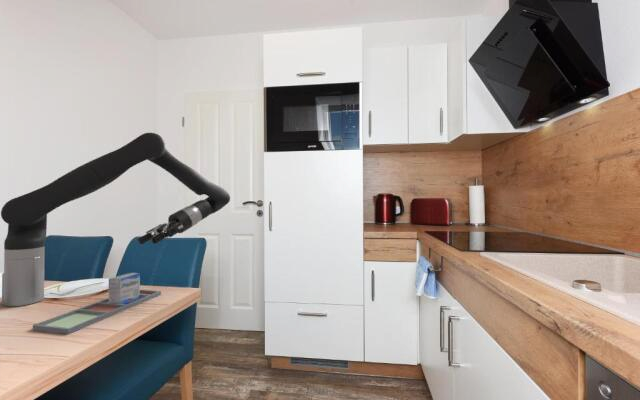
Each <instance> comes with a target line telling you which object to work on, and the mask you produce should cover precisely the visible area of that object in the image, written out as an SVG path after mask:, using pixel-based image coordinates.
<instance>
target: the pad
mask: <svg viewBox="0 0 640 400" xmlns="http://www.w3.org/2000/svg"><path fill="white" fill-rule="evenodd" d="M97 316H100V315H94V314H84V313H76V314H73V315H71V316H68V317H65V318H63V319H60V320H57V321H54V322H52V323H49V324H46V325H47V326H56V327H64V328H70V327H73V326H75V325H78V324H80V323H82V322H85V321H87V320H90V319H92V318H95V317H97Z"/></svg>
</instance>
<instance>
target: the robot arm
mask: <svg viewBox="0 0 640 400" xmlns="http://www.w3.org/2000/svg"><path fill="white" fill-rule="evenodd" d="M145 161H149V162H150V163H152V164H154V165H156V166H158V167H160V168H162V169H163V170H164V171H166V172H168V174H170V175H171V176H173V177H174V178H176V179H177V180H178V181H179V182H180V183H181V184H183V185H184V186H186V187H187V188H188V189H189V190H191V192H193V193H194V194H196V195H198V196H203V195H205V196H206V198H205V199H200V200H198V201H196V202H194V203H192V204H190V205H187V206H185V207H183V208H181V209H179V210H177V211H175V212H174V213H171V214H170V215H169V216H168V220H167V221H168V222H163V223H162V224H159V225H156V226H155V227H153V228H151V229H149V230H147V231H146V232H145V234H144V235H142V236H140V237H139V238H137V242H138V243H139V245H143V244H145V243H147V242H149V241H150V242H151V243H152V244H153V245H154V244H155V245H156V244H158V243H159V242H161V241H162V240H165V239H168V238H172V237H173V236H175V235H177V234H183V233H184V232H186V231H187V230H189V229H190V228H192V227H195V226H196V225H197V224H198V223H200V222H201V221H202V220H205V219H206V218H207V217H209V216H210V215H212V214H215V213H217V212H218V211H220V210H221V209H223V208H224V207H225V206H226V205H228V204H229V203H230V201H231V196H230V194H229V192H228V190H226V189H225V188H224V187H222V186H220V185H218V184H215V183H214V182H211V181H209V180H208V179H206V178H205V177H204V176H203V175H201V174H200V173H199V172H198V171H196V170H195V169H194V168H192V167H191V166H189V165H187V164H185V163H184V162H182V161H181V160H179V159H178V158H176V157H175V156H174V155H173V154H172V153H171V152H170V151H169V150H168V149H167V148H166V143H165V140H164V139H163V137H162V136H161V135H160V134H159V133H156V132H145V133H142V134H141V135H138V136H137V137H136V138H134V139H133V140H131V141H130V142H128V143H126V144H124V145H123V146H121V147H119V148H117V149H115V150H113V151H110V152H108V153H106V154H104V155H101V156H99V157H96V158H95V159H92V160H90V161H88V162H86V163H84V164H81V165H80V166H77V167H75V169H72V170H70V171H69V172H67V173H65V174H64V175H61V176H60V177H58V178H57V179H55V180H53V181H52V182H50V183H48V184H46V185H45V186H42V187H39V188H38V189H35V190H32V191H30V192H26V193H25V194H21V195H20V196H17V197H14V198H11V199H10V200H8V201H7V202H6V203H5V204H4V205H3V206H2V207H1V210H0V216H1V217H0V218H1V219H2V221H3V222H4V223H6V224H7V234H6V237H5V240H4V241H3V242H4V243H3V246H4V247H3V249H4V250H3V251H4V252H3V255H4V256H3V259H4V260H3V273H2V274H1V305H2V304H3V306H4V307H20V306H27V305H32V304H35V303H39V302H42V301H43V300H44V299H45V245H46V244H45V243H46V238H47V230H48V229H47V228H48V227H47V225H48V223H47V222H48V221H47V220H48V214H49V213H51V212H53V211H54V210H55V209H56V210H57V208H59V207H61V206H63V205H65V204H67V203H69V202H72V201H75V200H78V199H80V198H82V197H86V196H88V195H90V194H92V193H94V192H97V191H98V190H100V189H102V188H104V187H106V186H108V185H110V184H111V183H113V182H115V180H117V179H118V178H120V177H121V176H122V175H124V174H125V172H127V171H128V170H130V169H131V168H133V167H134V166H136V165H138V164H141V163H143V162H145ZM152 233H153V234H152Z"/></svg>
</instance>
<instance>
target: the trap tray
mask: <svg viewBox="0 0 640 400" xmlns="http://www.w3.org/2000/svg"><path fill="white" fill-rule="evenodd" d="M159 296H162V291H161V290H153V289H152V290H150V289H149V290H148V289H140V299H139V300H136V301H134V302H131V303H129V304H127V305H123V304H113V303H109V297H108V298H104V299H102V300H99V301H96V302H93V303H91V304H87V305H85V306H82V307H79V308H77V309H74V310H71V311H68V312H65V313H63V314H60V315H57V316H55V317H51V318H48V319H46V320H43V321H40V322H37V323H34V324H33V325H32V330H33V331H38V332H39V331H40V332H46V333H47V332H48V333H55V334H56V333H57V334H63V335H69V334H72V333H76V332H77V331H79V330H82V329H84V328H86V327H89V326H91V325H93V324H96V323H98V322H99V321H103V320H105V319H107V318H110V317H112V316H115V315H116V314H119V313H121V312H123V311H124V312H125V311H126V310H129V309H131V308H133V307H135V306H139V305H140V304H142V303H144V302H147V301H149V300H152V299H154V298H157V297H159ZM76 313H84V314H94V315H100V316H97V317H95V318H92V319H90V320H87V321H85V322H82V323H80V324H78V325H75V326H73V327H70V328H64V327H56V326H47V325H46V324H49V323H52V322H54V321H57V320H60V319H63V318H65V317H68V316H71V315H73V314H76Z"/></svg>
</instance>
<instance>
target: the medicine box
mask: <svg viewBox="0 0 640 400" xmlns="http://www.w3.org/2000/svg"><path fill="white" fill-rule="evenodd" d="M140 286H141V274H140V273H137V272H128V273H124V274H121V275H117V276H114V277H111V278H108V298H109V302H108V303H113V304H123V305H127V304H129V303H131V302H134V301H136V300H139V299H141V298H140V290H141V287H140Z"/></svg>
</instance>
